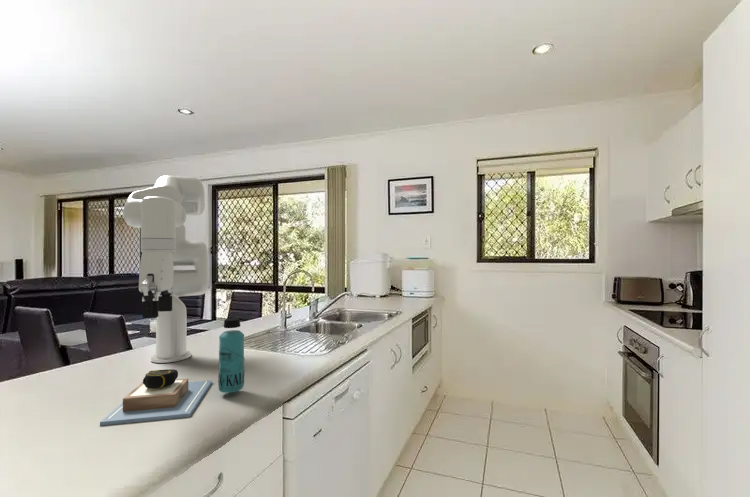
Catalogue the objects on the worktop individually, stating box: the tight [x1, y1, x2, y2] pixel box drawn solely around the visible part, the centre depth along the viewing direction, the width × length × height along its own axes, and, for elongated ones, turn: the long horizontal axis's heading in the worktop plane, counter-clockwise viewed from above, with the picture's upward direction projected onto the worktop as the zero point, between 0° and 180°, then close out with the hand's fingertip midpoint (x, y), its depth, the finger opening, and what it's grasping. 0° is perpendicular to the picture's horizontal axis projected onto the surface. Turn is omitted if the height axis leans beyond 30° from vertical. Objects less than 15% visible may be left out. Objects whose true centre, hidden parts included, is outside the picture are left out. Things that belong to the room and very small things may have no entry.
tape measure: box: [142, 368, 179, 389], centre depth 89 cm, size 7×7×4 cm
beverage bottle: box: [217, 317, 246, 394], centre depth 95 cm, size 6×7×20 cm
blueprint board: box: [99, 378, 213, 427], centre depth 90 cm, size 22×18×4 cm
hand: (158, 314), depth 89 cm, fingers open, 9 cm apart
